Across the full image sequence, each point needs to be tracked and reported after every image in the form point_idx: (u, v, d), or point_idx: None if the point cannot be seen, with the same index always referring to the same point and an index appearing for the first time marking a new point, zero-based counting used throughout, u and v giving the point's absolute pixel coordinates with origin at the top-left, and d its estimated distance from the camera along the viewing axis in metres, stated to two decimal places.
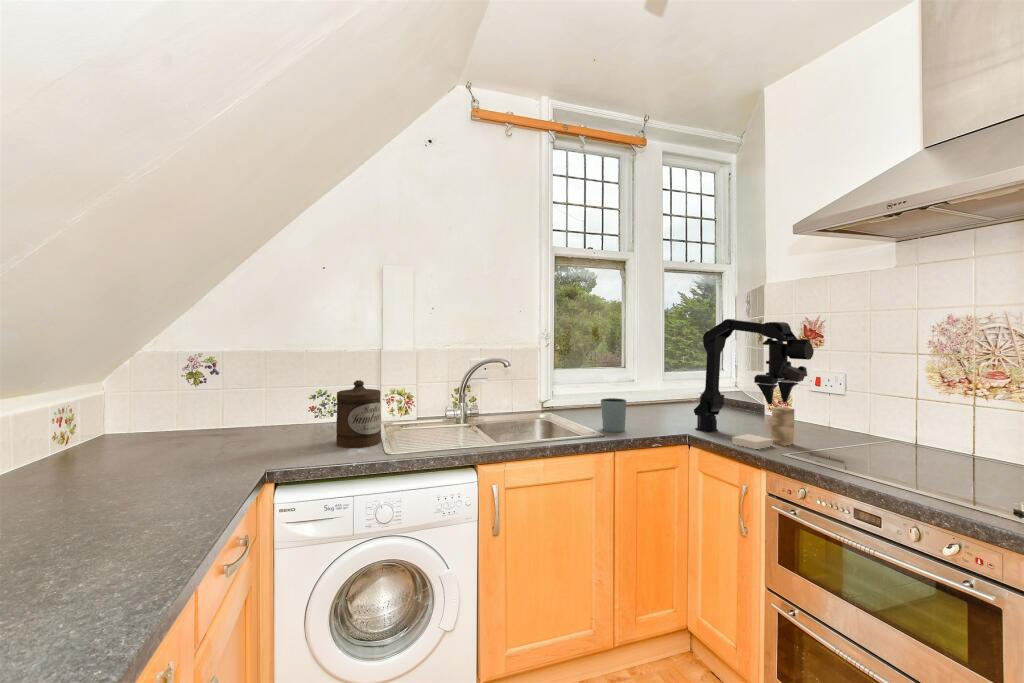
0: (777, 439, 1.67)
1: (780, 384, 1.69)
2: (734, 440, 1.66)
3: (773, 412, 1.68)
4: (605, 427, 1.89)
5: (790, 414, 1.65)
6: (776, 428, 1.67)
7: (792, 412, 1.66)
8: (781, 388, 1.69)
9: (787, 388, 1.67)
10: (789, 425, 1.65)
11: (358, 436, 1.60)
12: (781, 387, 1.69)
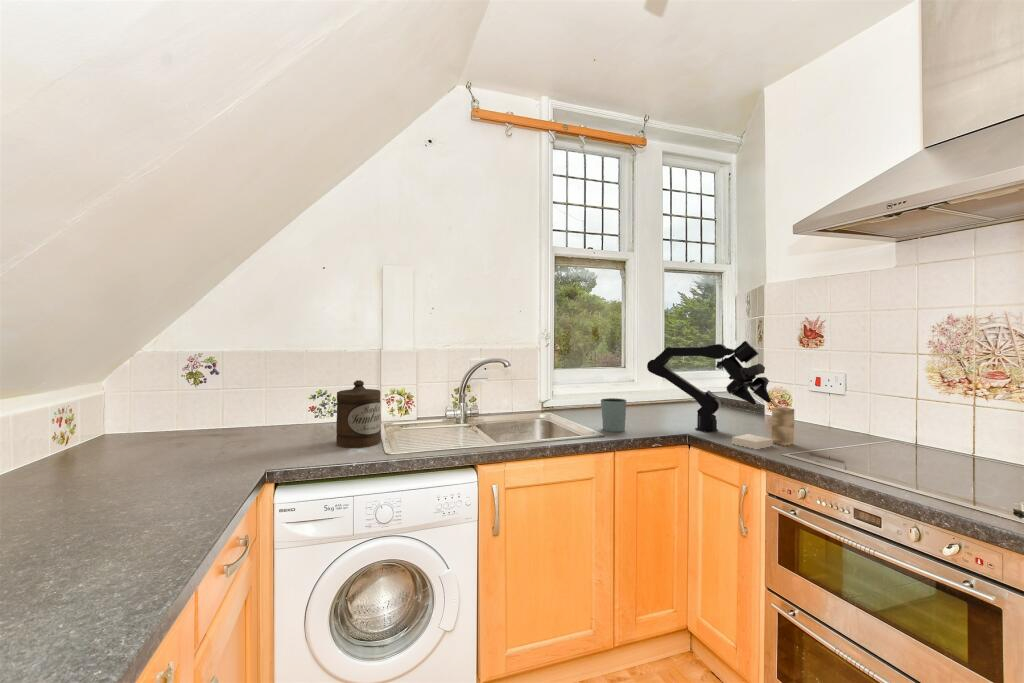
0: (777, 439, 1.67)
1: (756, 392, 1.81)
2: (734, 440, 1.66)
3: (773, 412, 1.68)
4: (605, 427, 1.89)
5: (790, 414, 1.65)
6: (776, 428, 1.67)
7: (792, 412, 1.66)
8: (759, 394, 1.80)
9: (762, 390, 1.79)
10: (789, 425, 1.65)
11: (358, 436, 1.60)
12: (759, 393, 1.80)
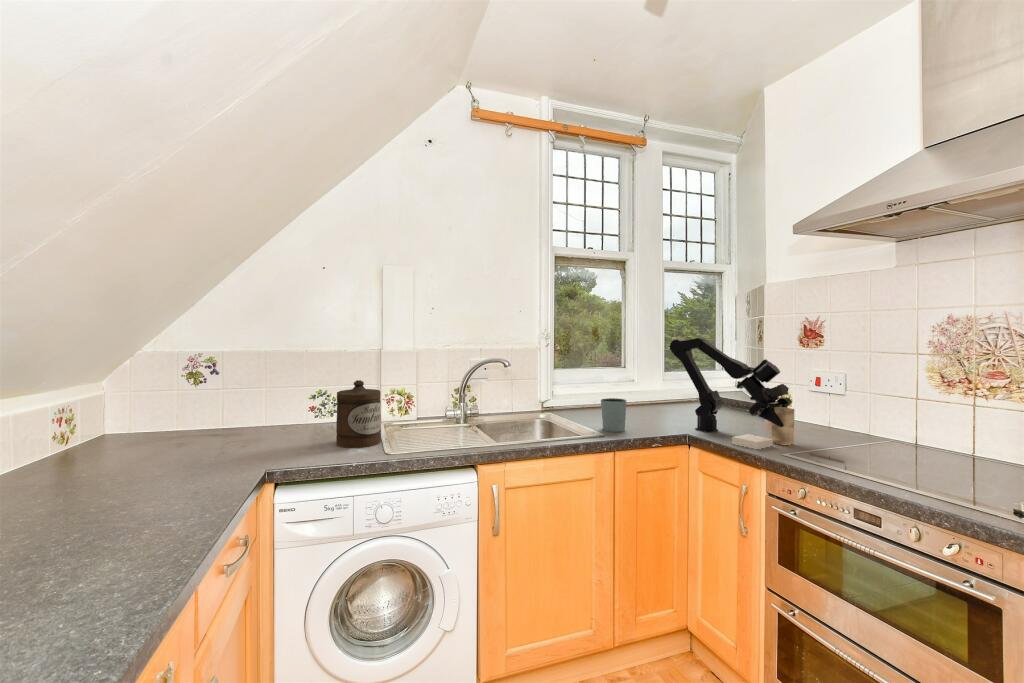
0: (778, 439, 1.67)
1: None
2: (734, 440, 1.66)
3: None
4: (605, 427, 1.89)
5: (790, 414, 1.65)
6: (776, 428, 1.67)
7: (792, 412, 1.66)
8: None
9: None
10: (789, 425, 1.65)
11: (358, 436, 1.60)
12: None
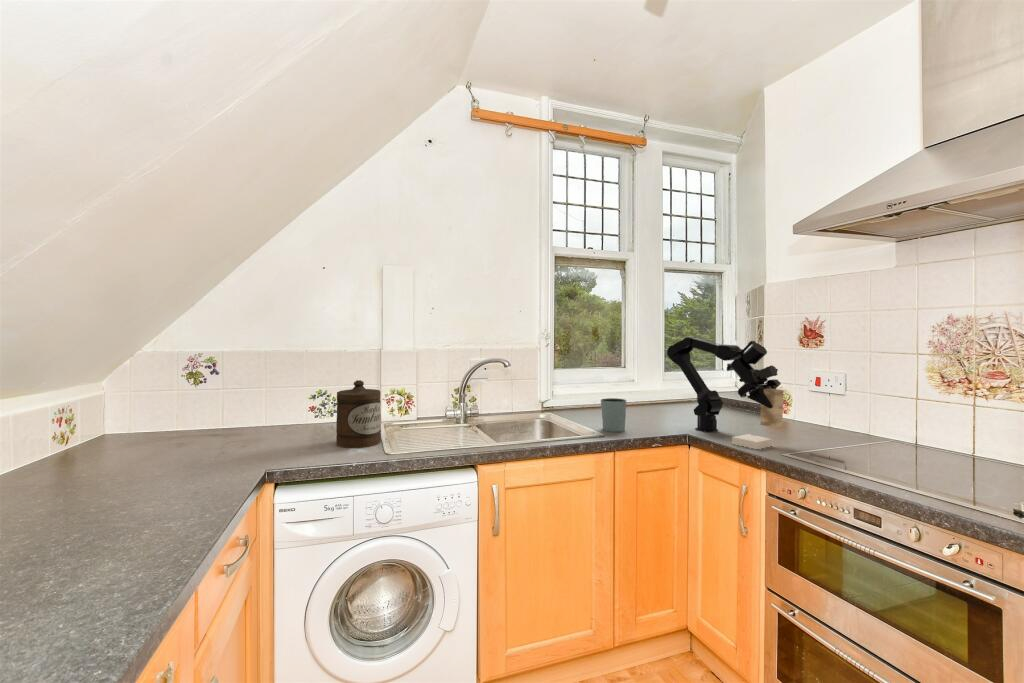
0: (766, 420, 1.66)
1: None
2: (734, 440, 1.66)
3: None
4: (605, 427, 1.89)
5: (779, 395, 1.64)
6: (765, 409, 1.66)
7: (781, 393, 1.65)
8: None
9: None
10: (778, 406, 1.64)
11: (358, 436, 1.60)
12: None
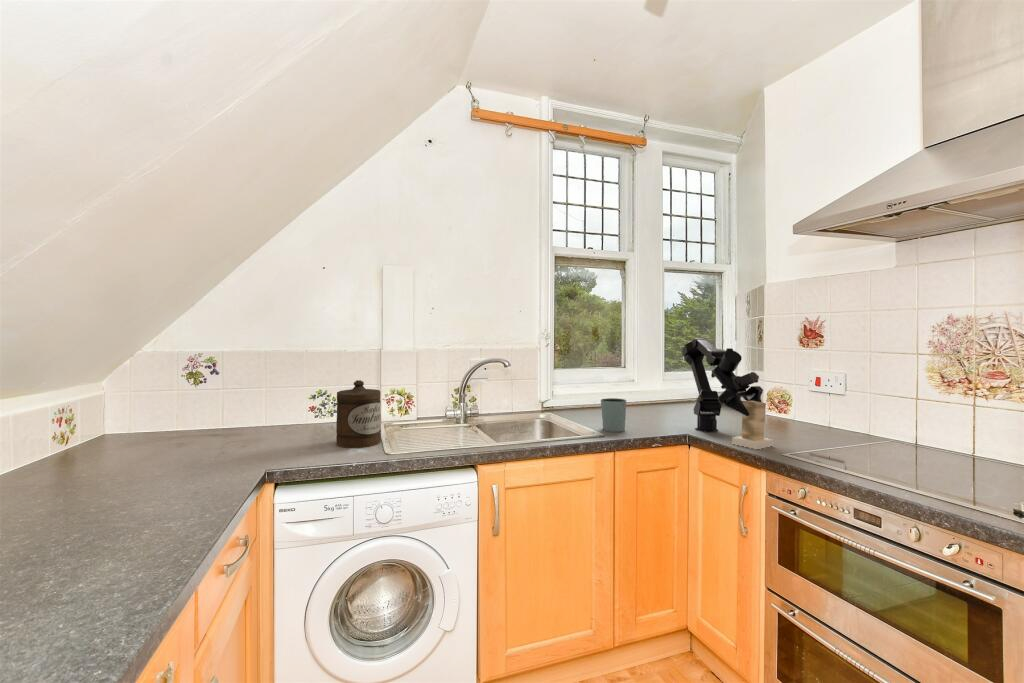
0: (747, 432, 1.64)
1: None
2: (734, 440, 1.66)
3: (744, 405, 1.65)
4: (605, 427, 1.89)
5: (760, 408, 1.63)
6: (746, 422, 1.65)
7: (763, 406, 1.63)
8: None
9: (756, 400, 1.69)
10: (759, 419, 1.63)
11: (358, 436, 1.60)
12: None
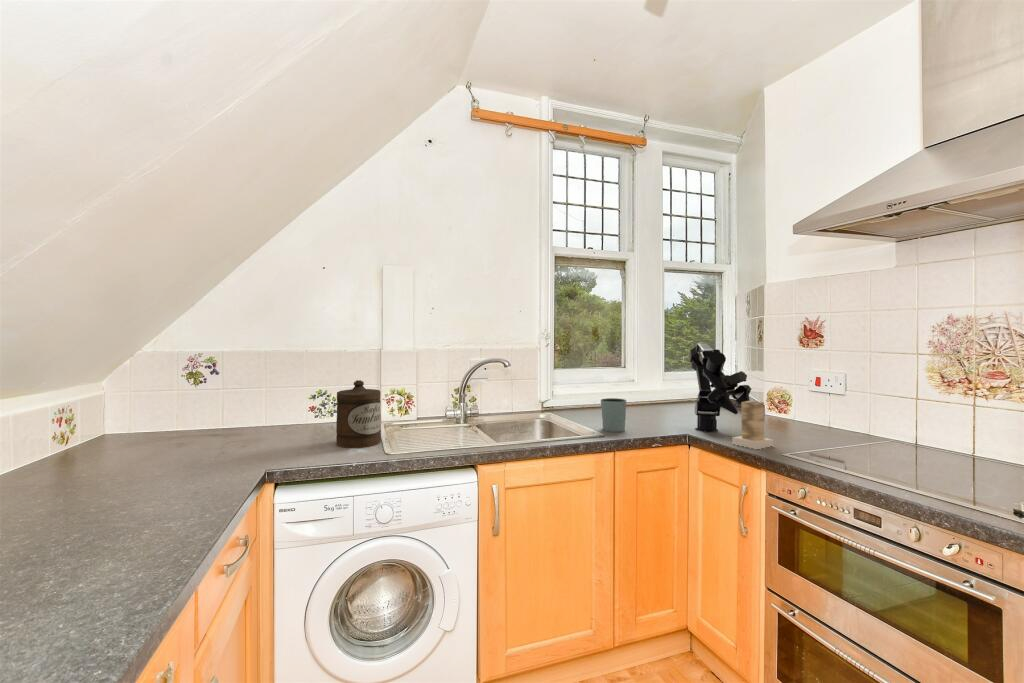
0: (747, 433, 1.64)
1: (738, 400, 1.75)
2: (734, 440, 1.66)
3: (742, 406, 1.65)
4: (605, 427, 1.89)
5: (759, 408, 1.62)
6: (745, 422, 1.65)
7: (761, 406, 1.63)
8: None
9: (745, 399, 1.73)
10: (758, 419, 1.62)
11: (358, 436, 1.60)
12: None
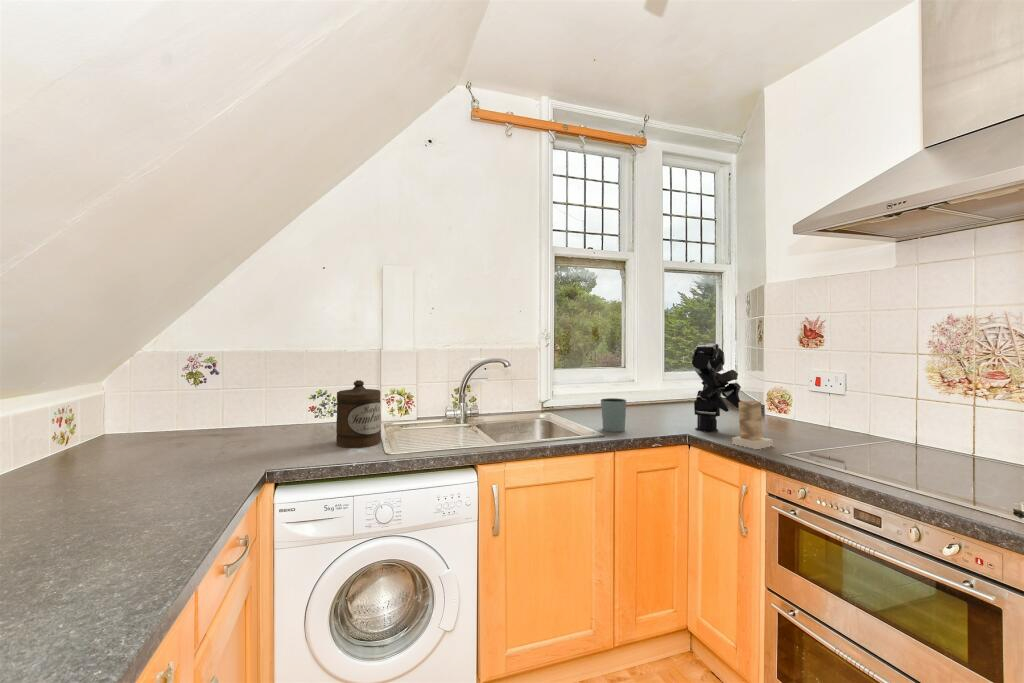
0: (745, 433, 1.64)
1: (728, 398, 1.79)
2: (734, 440, 1.66)
3: (740, 406, 1.65)
4: (605, 427, 1.89)
5: (756, 407, 1.63)
6: (743, 422, 1.65)
7: (759, 405, 1.63)
8: (731, 400, 1.78)
9: (734, 396, 1.77)
10: (756, 418, 1.63)
11: (358, 436, 1.60)
12: (731, 399, 1.78)
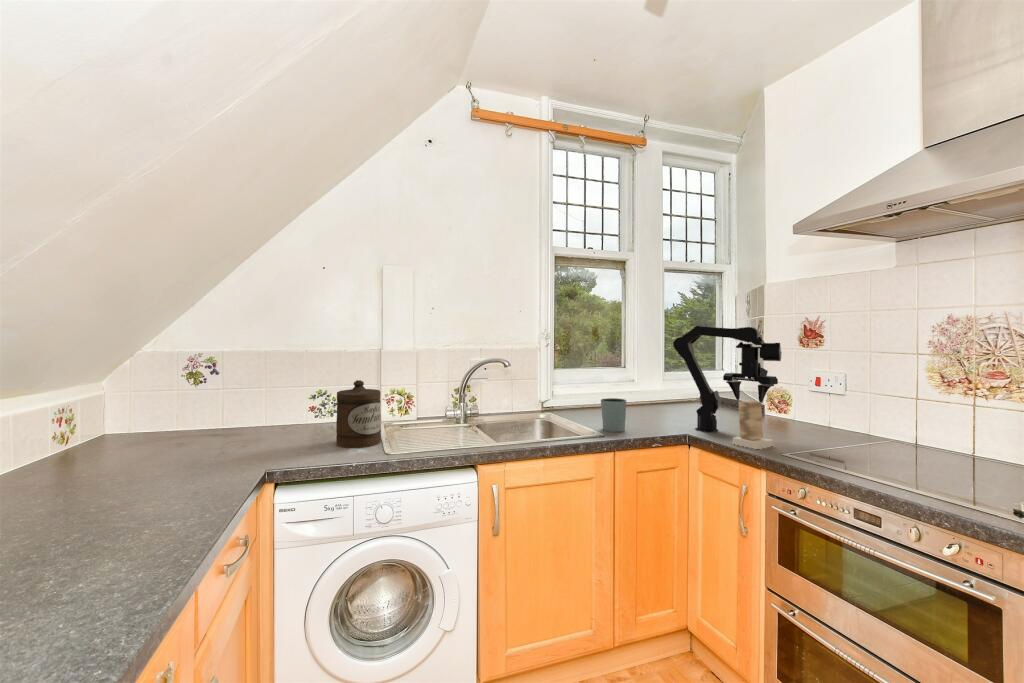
0: (745, 433, 1.64)
1: (734, 384, 1.84)
2: (734, 441, 1.66)
3: (739, 406, 1.66)
4: (605, 427, 1.89)
5: (755, 407, 1.63)
6: (743, 422, 1.65)
7: (758, 405, 1.63)
8: (734, 387, 1.84)
9: (738, 386, 1.85)
10: (755, 418, 1.63)
11: (358, 436, 1.60)
12: (735, 387, 1.84)
